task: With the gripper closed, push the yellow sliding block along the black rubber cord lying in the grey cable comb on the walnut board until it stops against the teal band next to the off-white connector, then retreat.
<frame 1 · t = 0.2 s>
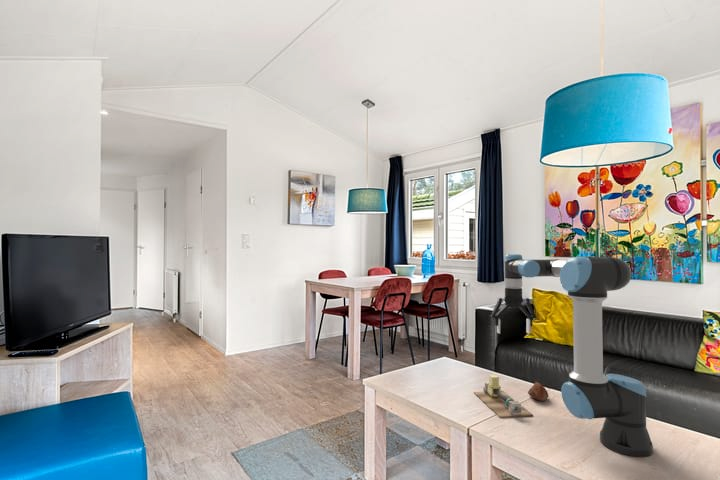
hand: (513, 333, 183), 28 cm above the table, fingers open, 13 cm apart
fossil: (537, 399, 176), on the table
yellow sliding block: (494, 385, 177), point 5 cm above the table, slide at 0.0 cm
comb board: (501, 404, 170), on the table
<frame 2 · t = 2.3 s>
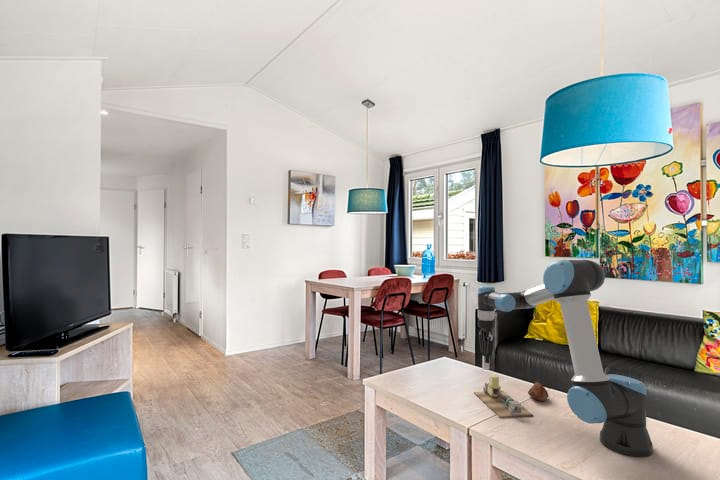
hand: (485, 369, 186), 10 cm above the table, fingers closed
nothing on the table moved.
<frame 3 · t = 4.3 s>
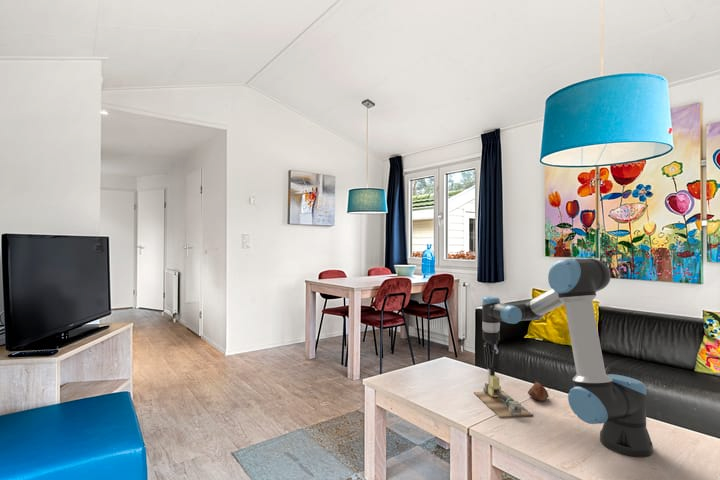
hand: (491, 382, 180), 6 cm above the table, fingers closed
yellow sliding block: (494, 385, 177), point 5 cm above the table, slide at 0.5 cm, touching gripper
everything else where it was.
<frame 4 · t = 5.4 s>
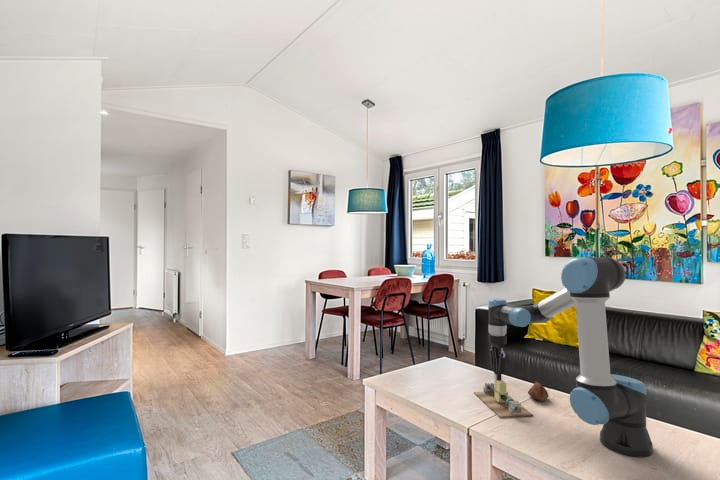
hand: (497, 387, 174), 6 cm above the table, fingers closed
yellow sliding block: (501, 391, 170), point 6 cm above the table, slide at 7.0 cm, touching gripper
everything else where it was.
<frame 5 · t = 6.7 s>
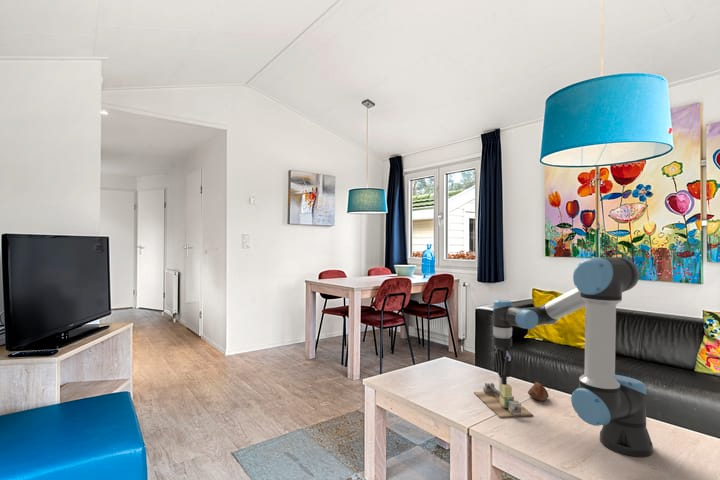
hand: (502, 391, 169), 6 cm above the table, fingers closed
yellow sliding block: (506, 395, 166), point 6 cm above the table, slide at 11.7 cm, touching gripper
everything else where it was.
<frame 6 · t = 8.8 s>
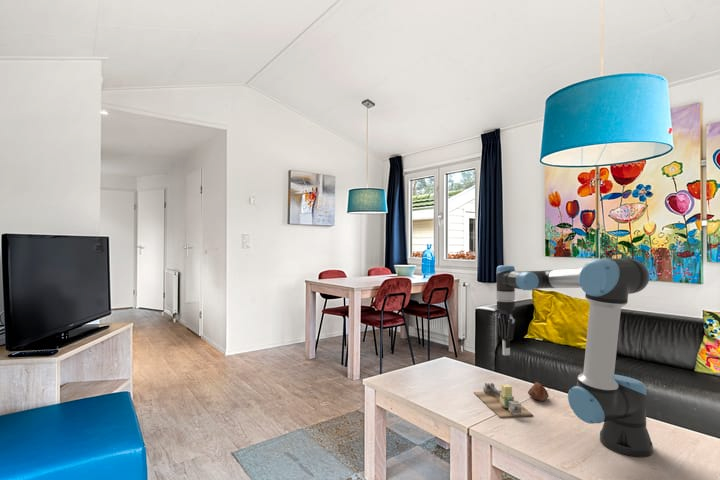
hand: (506, 354, 172), 21 cm above the table, fingers closed
yellow sliding block: (506, 395, 166), point 5 cm above the table, slide at 11.8 cm
everything else where it was.
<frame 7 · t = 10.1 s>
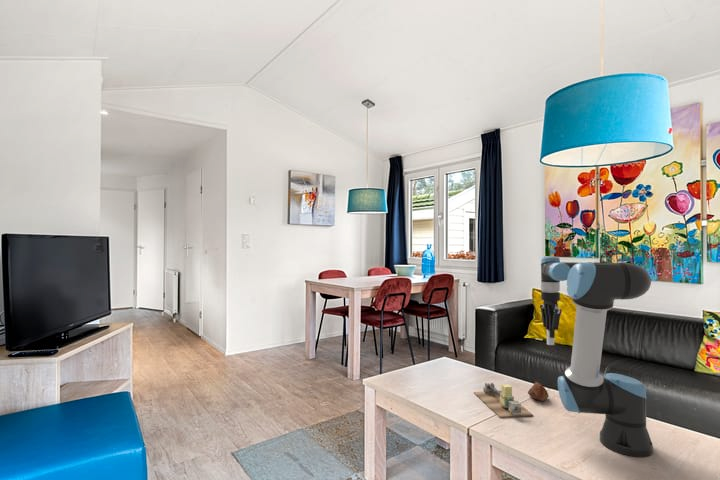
hand: (550, 344, 175), 24 cm above the table, fingers closed
nothing on the table moved.
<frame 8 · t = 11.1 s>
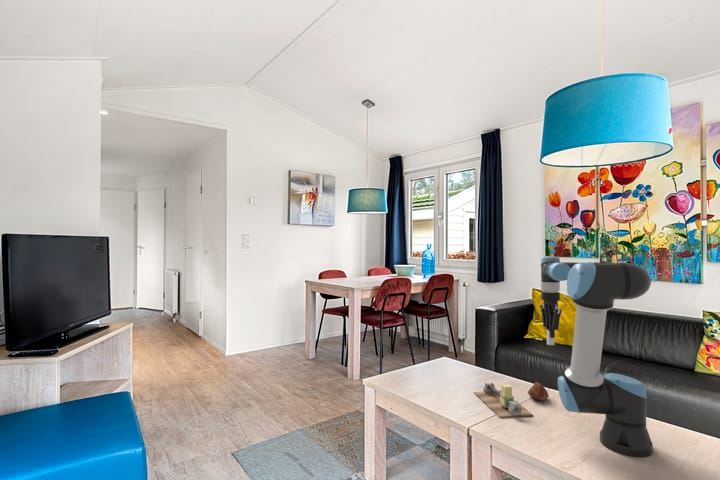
hand: (550, 344, 175), 24 cm above the table, fingers closed
nothing on the table moved.
at the end: yellow sliding block slide at 11.8 cm; yellow sliding block 0.0 cm from the target spot on the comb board, point 5.5 cm above the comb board's base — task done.
